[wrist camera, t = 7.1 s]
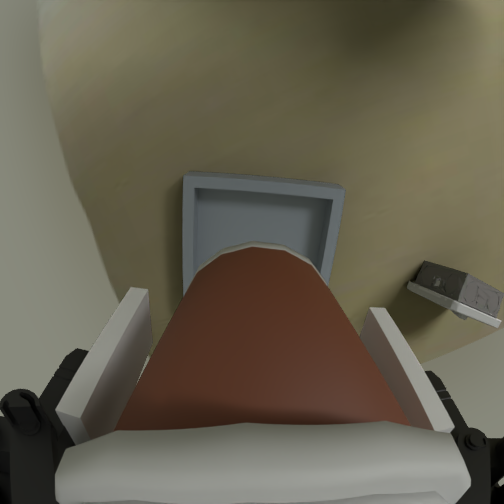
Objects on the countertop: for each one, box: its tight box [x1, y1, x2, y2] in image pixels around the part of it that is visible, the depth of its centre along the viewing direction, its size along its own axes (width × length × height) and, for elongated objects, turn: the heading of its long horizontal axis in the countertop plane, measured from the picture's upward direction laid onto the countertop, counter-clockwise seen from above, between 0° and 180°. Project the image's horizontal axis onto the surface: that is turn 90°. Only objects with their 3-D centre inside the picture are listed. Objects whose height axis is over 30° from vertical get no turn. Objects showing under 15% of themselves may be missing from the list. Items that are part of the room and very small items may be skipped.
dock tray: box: [182, 171, 346, 297], centre depth 30 cm, size 14×14×2 cm
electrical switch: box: [407, 261, 504, 328], centre depth 28 cm, size 9×5×9 cm, turn 69°
